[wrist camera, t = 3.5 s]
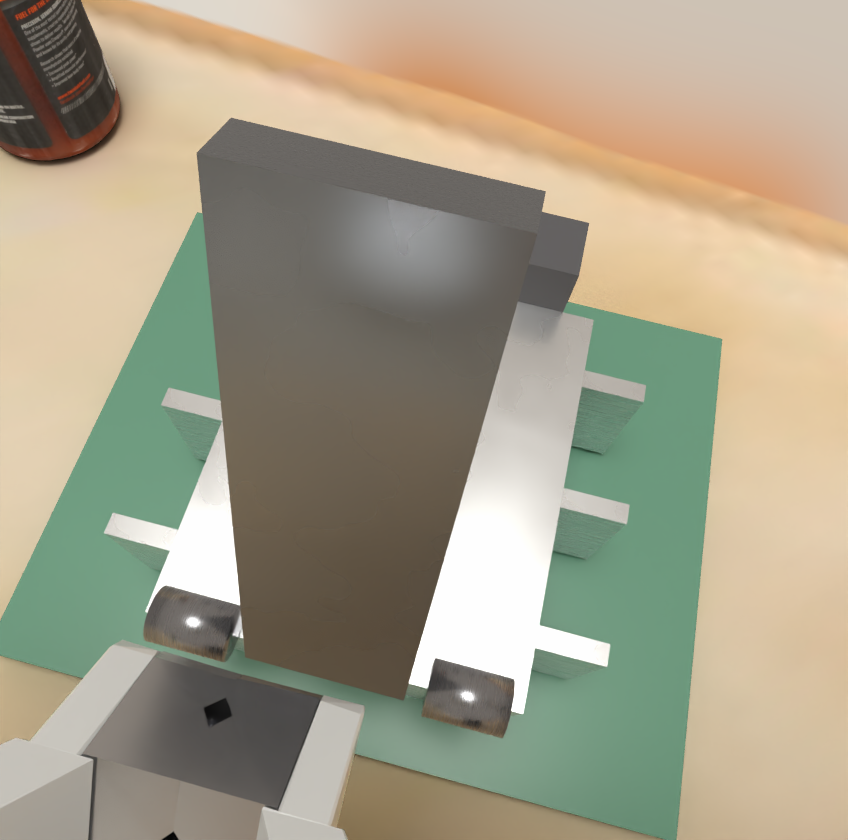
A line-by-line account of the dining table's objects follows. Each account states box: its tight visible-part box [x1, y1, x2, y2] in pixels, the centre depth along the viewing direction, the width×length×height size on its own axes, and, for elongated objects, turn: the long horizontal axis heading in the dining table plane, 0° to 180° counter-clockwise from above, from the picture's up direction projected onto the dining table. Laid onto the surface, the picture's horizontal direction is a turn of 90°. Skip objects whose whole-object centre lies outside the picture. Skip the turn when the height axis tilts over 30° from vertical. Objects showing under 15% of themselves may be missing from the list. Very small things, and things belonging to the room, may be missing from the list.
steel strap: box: [197, 118, 546, 701], centre depth 13 cm, size 4×13×1 cm
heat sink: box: [104, 302, 646, 738], centre depth 22 cm, size 14×13×6 cm
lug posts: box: [518, 212, 589, 312], centre depth 25 cm, size 8×2×7 cm, turn 76°
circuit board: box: [0, 212, 722, 840], centre depth 26 cm, size 22×18×1 cm
